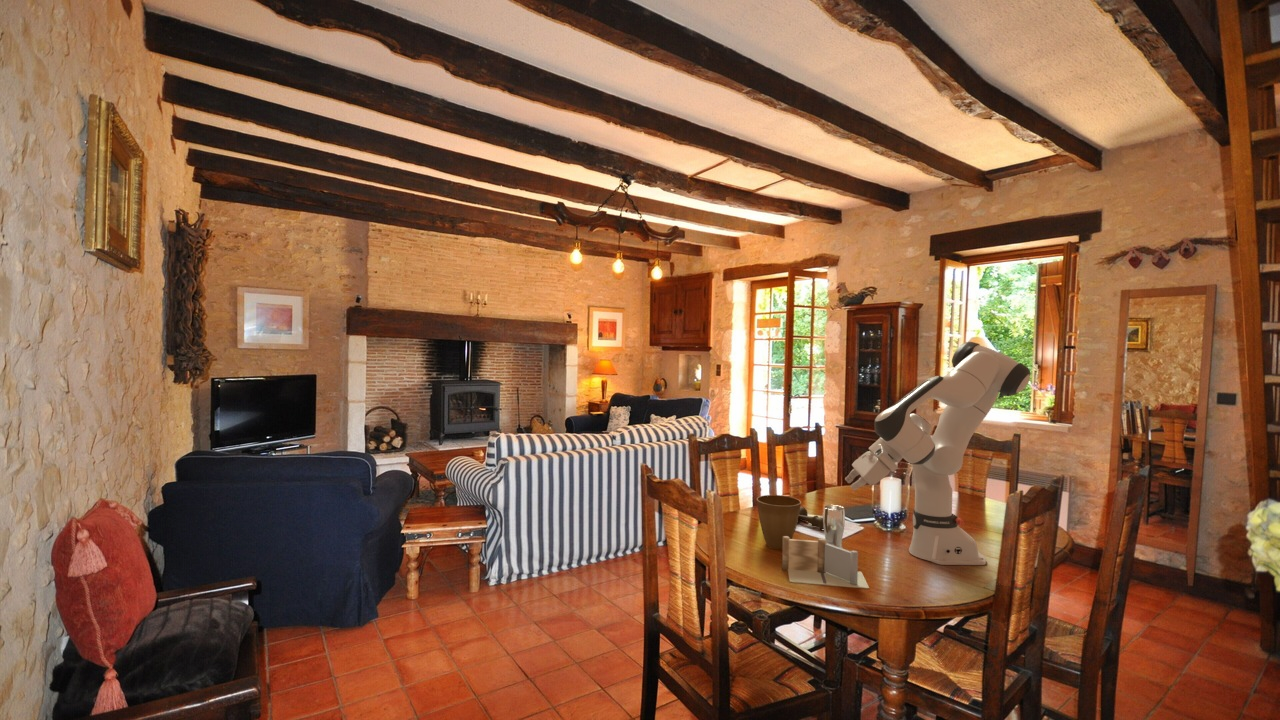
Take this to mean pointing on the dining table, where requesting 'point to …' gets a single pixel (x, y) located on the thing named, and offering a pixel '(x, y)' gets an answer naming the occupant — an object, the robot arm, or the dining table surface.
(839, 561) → the fence gate
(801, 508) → the kendama
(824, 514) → the beer glass
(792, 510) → the plant pot
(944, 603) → the dining table surface
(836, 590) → the dining table surface
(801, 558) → the fence fixed section
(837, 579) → the card
